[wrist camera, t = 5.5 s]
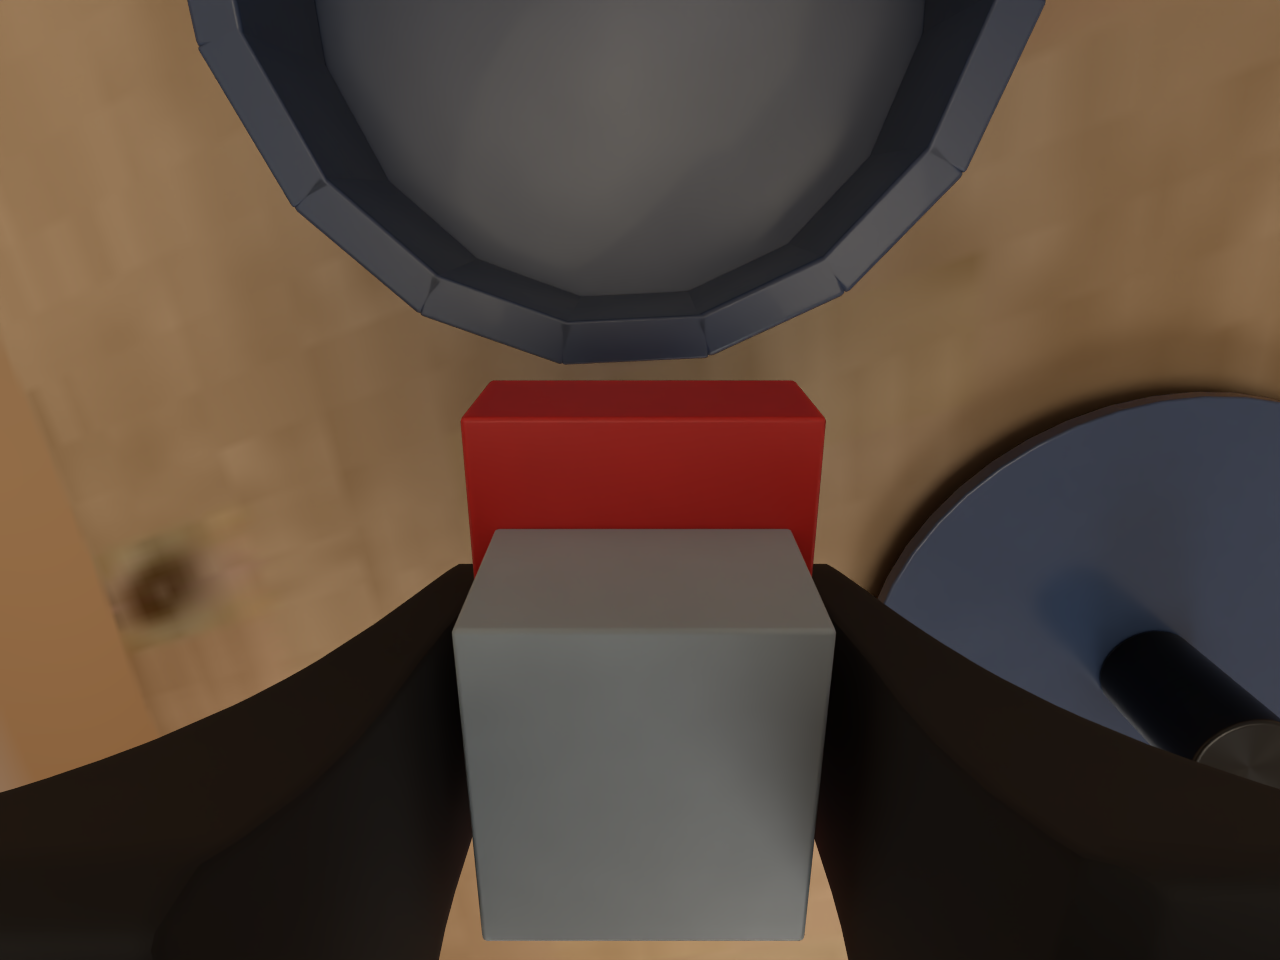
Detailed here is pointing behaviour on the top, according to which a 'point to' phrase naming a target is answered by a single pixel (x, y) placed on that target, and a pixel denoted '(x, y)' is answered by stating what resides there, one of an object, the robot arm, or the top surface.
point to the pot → (615, 150)
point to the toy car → (643, 659)
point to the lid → (1123, 574)
